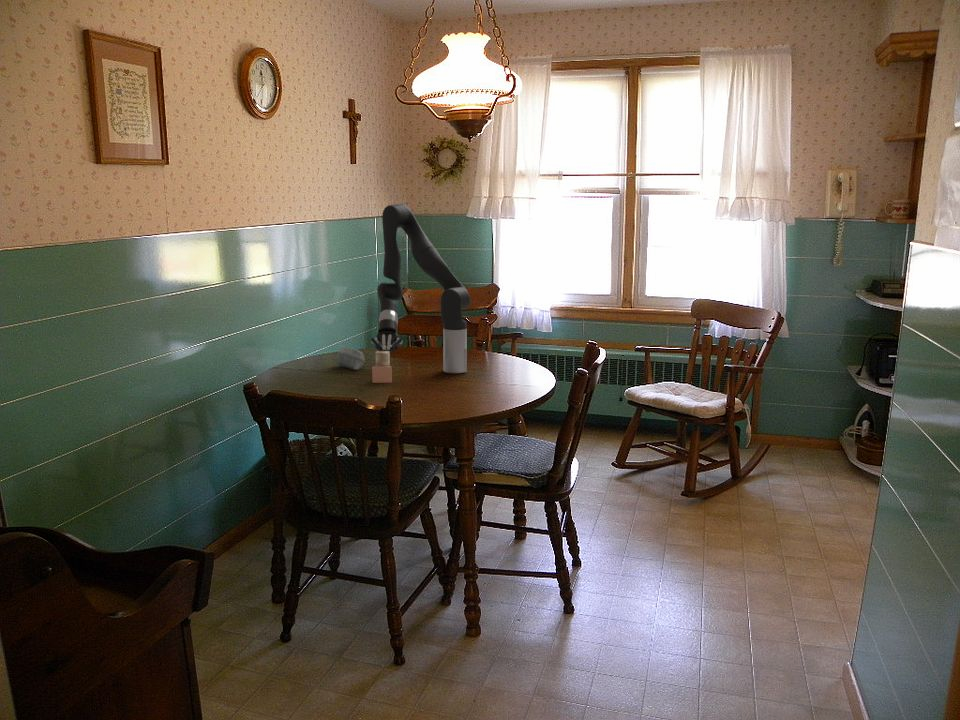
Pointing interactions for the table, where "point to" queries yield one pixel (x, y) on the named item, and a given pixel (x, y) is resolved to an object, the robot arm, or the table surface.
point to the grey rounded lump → (350, 358)
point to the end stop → (382, 374)
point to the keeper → (382, 358)
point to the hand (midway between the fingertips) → (385, 359)
